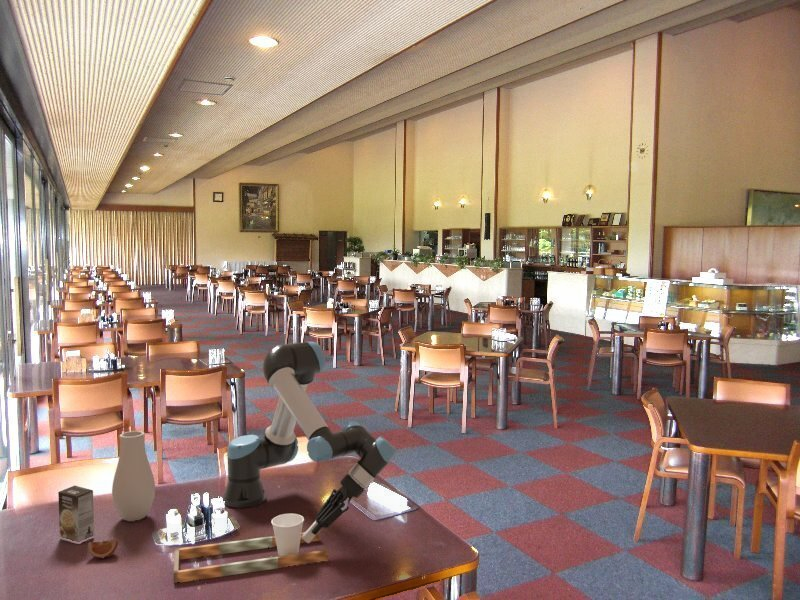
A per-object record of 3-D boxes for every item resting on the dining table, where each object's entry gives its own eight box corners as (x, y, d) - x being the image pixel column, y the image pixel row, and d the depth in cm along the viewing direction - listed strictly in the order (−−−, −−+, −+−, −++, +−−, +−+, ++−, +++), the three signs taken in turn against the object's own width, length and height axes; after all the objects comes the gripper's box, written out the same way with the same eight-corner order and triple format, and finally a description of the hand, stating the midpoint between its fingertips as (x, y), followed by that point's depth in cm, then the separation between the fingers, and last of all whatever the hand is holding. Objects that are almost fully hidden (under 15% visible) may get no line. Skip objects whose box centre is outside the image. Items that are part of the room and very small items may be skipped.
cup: (296, 564, 193) (296, 528, 192) (266, 560, 196) (265, 525, 195) (309, 549, 203) (309, 515, 202) (280, 545, 205) (279, 511, 204)
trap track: (318, 539, 210) (318, 530, 210) (328, 560, 195) (328, 551, 195) (175, 558, 196) (174, 548, 196) (173, 583, 182) (173, 573, 182)
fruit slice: (85, 562, 194) (84, 546, 194) (92, 552, 201) (91, 536, 200) (114, 560, 195) (114, 544, 195) (120, 550, 202) (120, 534, 202)
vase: (104, 523, 222) (101, 437, 220) (134, 508, 235) (131, 426, 232) (135, 529, 217) (132, 441, 214) (164, 514, 229) (162, 430, 227)
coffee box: (58, 540, 209) (56, 491, 207) (76, 532, 214) (74, 485, 213) (78, 545, 205) (76, 496, 204) (95, 537, 211) (94, 489, 209)
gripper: (370, 495, 198) (317, 556, 194) (359, 481, 211) (309, 538, 207) (353, 480, 196) (299, 542, 192) (343, 466, 208) (292, 524, 205)
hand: (304, 540), depth 199 cm, fingers closed
